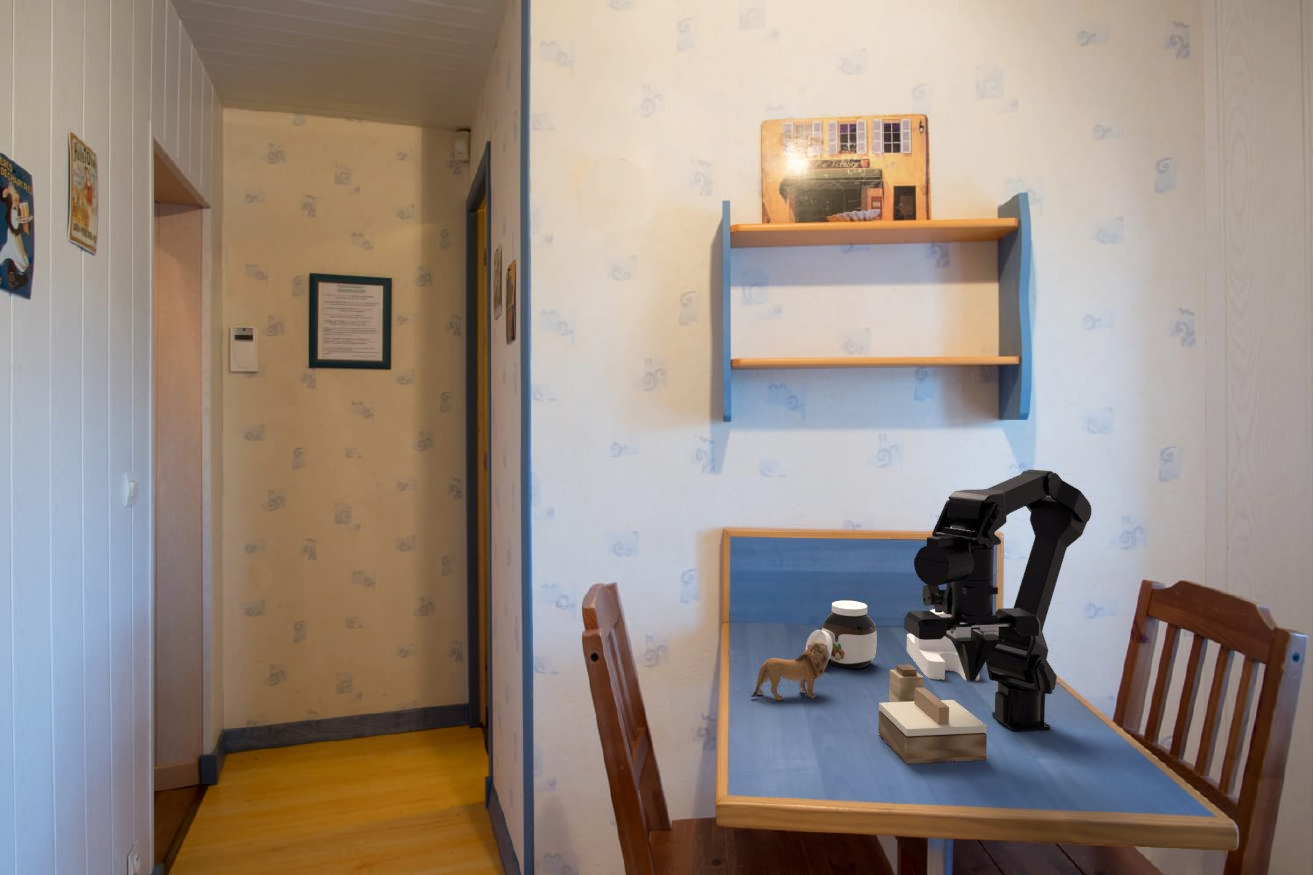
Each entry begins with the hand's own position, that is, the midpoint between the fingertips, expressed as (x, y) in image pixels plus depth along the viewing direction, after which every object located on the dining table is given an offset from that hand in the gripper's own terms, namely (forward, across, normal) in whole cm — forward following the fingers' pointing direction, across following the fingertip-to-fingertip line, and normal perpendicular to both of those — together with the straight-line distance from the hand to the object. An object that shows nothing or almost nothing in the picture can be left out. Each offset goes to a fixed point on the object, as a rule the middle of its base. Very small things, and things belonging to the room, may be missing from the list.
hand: (970, 680), depth 119 cm
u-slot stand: (+10, -13, -36) cm, 40 cm away
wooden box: (+10, +6, 0) cm, 12 cm away
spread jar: (+10, +7, -38) cm, 40 cm away
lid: (+6, +6, 0) cm, 8 cm away
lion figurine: (+10, +21, -23) cm, 32 cm away
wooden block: (+10, +5, -12) cm, 16 cm away
